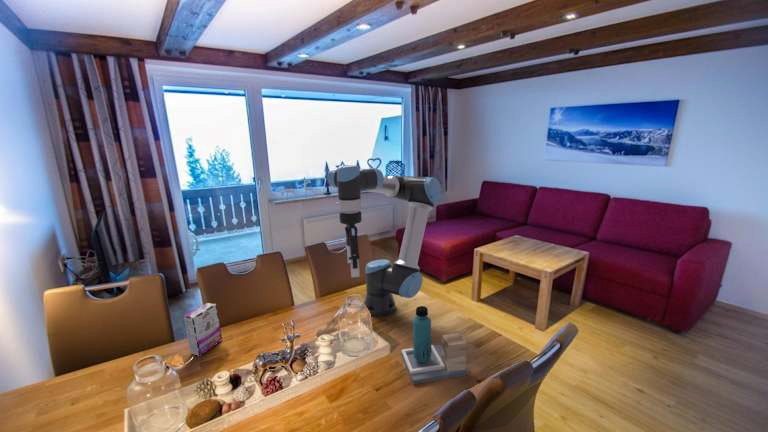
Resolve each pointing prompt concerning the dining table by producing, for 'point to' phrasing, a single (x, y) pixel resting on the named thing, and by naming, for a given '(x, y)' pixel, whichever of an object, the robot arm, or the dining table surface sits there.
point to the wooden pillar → (453, 352)
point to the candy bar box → (203, 328)
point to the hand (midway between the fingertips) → (353, 269)
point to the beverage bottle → (422, 335)
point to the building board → (428, 366)
